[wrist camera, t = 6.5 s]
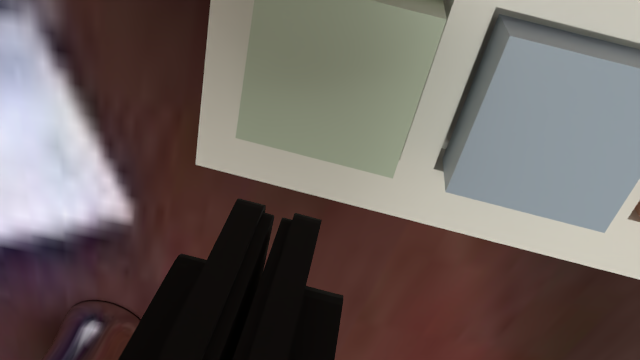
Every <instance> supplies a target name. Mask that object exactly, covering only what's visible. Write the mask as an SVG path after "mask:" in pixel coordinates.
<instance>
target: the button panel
mask: <svg viewBox="0 0 640 360" xmlns="http://www.w3.org/2000/svg"><path fill="white" fill-rule="evenodd" d="M443 2H444V7H445V13H446V18H447V21H446V23H445V26H444V29H443V32H442V35H441V38H440V41H439V44H438V47H437V50H436V53H435V56H434V59H433V62H432V65H431V68H430V71H429V73H428V76H427V79H426V82H425V85H424V88H423V91H422V94H421V97H420V100H419V103H418V106H417V109H416V112H415V115H414V118H413V121H412V123H411V126H410V129H409V132H408V135H407V138H406V141H405V144H404V147H403V150H402V153H401V156H400V159H399V162H398V165H397V168H396V171H395V174H394V176H393V178H389V177H385V176H381V175H377V174H373V173H369V172H366V171H362V170H358V169H354V168H350V167H346V166H342V165H338V164H335V163H331V162H327V161H323V160H319V159H315V158H311V157H307V156H303V155H300V154H296V153H292V152H288V151H284V150H280V149H276V148H272V147H269V146H265V145H261V144H257V143H253V142H249V141H245V140H241V139H238V138H236V130H237V123H238V116H239V109H240V101H241V94H242V87H243V79H244V72H245V65H246V57H247V50H248V43H249V36H250V28H251V21H252V14H253V6H254V0H211V2H210V13H209V23H208V34H207V45H206V56H205V67H204V77H203V88H202V99H201V110H200V121H199V132H198V142H197V153H196V164H195V165H199V166H203V167H207V168H211V169H214V170H218V171H222V172H226V173H230V174H234V175H238V176H242V177H245V178H249V179H253V180H257V181H261V182H265V183H269V184H272V185H276V186H280V187H284V188H288V189H292V190H296V191H300V192H303V193H307V194H311V195H315V196H319V197H323V198H327V199H330V200H334V201H338V202H342V203H346V204H350V205H354V206H358V207H361V208H365V209H369V210H373V211H377V212H381V213H385V214H388V215H392V216H396V217H400V218H404V219H408V220H412V221H416V222H419V223H423V224H427V225H431V226H435V227H439V228H443V229H447V230H450V231H454V232H458V233H462V234H466V235H470V236H474V237H477V238H481V239H485V240H489V241H493V242H497V243H501V244H505V245H508V246H512V247H516V248H520V249H524V250H528V251H532V252H535V253H539V254H543V255H547V256H551V257H555V258H559V259H563V260H566V261H570V262H574V263H578V264H582V265H586V266H590V267H594V268H597V269H601V270H605V271H609V272H613V273H617V274H621V275H624V276H628V277H632V278H636V279H640V217H639V215H638V213H637V212H636V210H635V207H636V205H637V204H638V202H639V201H640V179H639V180H638V182H637V183H636V185H635V187H634V188H633V190H632V191H631V193H630V194H629V196H628V197H627V199H626V200H625V202H624V204H623V205H622V207H621V208H620V210H619V211H618V213H617V214H616V216H615V217H614V219H613V221H612V222H611V224H610V225H609V227H608V228H607V230H606V231H605V233H602V232H598V231H595V230H591V229H587V228H583V227H579V226H575V225H571V224H567V223H564V222H560V221H556V220H552V219H548V218H544V217H540V216H536V215H532V214H529V213H525V212H521V211H517V210H513V209H509V208H505V207H501V206H498V205H494V204H490V203H486V202H482V201H478V200H474V199H470V198H466V197H463V196H459V195H455V194H451V193H447V192H445V181H444V170H443V156H444V153H445V151H446V148H447V146H448V143H449V141H450V138H451V136H452V133H453V130H454V128H455V125H456V123H457V120H458V118H459V115H460V113H461V110H462V108H463V105H464V102H465V100H466V97H467V95H468V92H469V90H470V87H471V85H472V82H473V79H474V77H475V74H476V72H477V69H478V67H479V64H480V62H481V59H482V57H483V54H484V51H485V49H486V46H487V44H488V41H489V39H490V36H491V34H492V31H493V28H494V26H495V23H496V21H497V18H498V16H499V14H501V15H505V16H509V17H513V18H517V19H521V20H525V21H529V22H533V23H537V24H541V25H545V26H549V27H553V28H557V29H561V30H565V31H569V32H573V33H576V34H580V35H584V36H588V37H592V38H596V39H600V40H604V41H608V42H612V43H616V44H620V45H624V46H628V47H632V48H636V49H640V0H443Z"/></svg>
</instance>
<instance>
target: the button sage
mask: <svg viewBox="0 0 640 360" xmlns="http://www.w3.org/2000/svg"><path fill="white" fill-rule="evenodd" d="M446 21H447V18H446V13H445V7H444V2H443V0H254V6H253V14H252V21H251V28H250V36H249V43H248V50H247V57H246V65H245V72H244V79H243V87H242V94H241V101H240V109H239V116H238V123H237V130H236V138H238V139H241V140H245V141H249V142H253V143H257V144H261V145H265V146H269V147H272V148H276V149H280V150H284V151H288V152H292V153H296V154H300V155H303V156H307V157H311V158H315V159H319V160H323V161H327V162H331V163H335V164H338V165H342V166H346V167H350V168H354V169H358V170H362V171H366V172H369V173H373V174H377V175H381V176H385V177H389V178H393V176H394V174H395V171H396V168H397V165H398V162H399V159H400V156H401V153H402V150H403V147H404V144H405V141H406V138H407V135H408V132H409V129H410V126H411V123H412V121H413V118H414V115H415V112H416V109H417V106H418V103H419V100H420V97H421V94H422V91H423V88H424V85H425V82H426V79H427V76H428V73H429V71H430V68H431V65H432V62H433V59H434V56H435V53H436V50H437V47H438V44H439V41H440V38H441V35H442V32H443V29H444V26H445V23H446Z"/></svg>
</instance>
